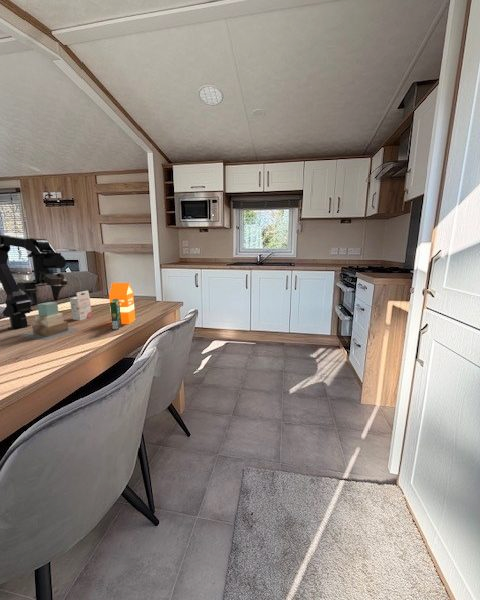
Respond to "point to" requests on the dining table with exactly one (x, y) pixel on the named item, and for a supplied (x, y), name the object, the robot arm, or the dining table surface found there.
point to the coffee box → (115, 314)
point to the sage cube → (47, 309)
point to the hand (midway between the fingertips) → (45, 302)
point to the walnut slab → (50, 329)
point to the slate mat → (49, 336)
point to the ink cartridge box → (81, 306)
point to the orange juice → (123, 301)
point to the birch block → (49, 320)
